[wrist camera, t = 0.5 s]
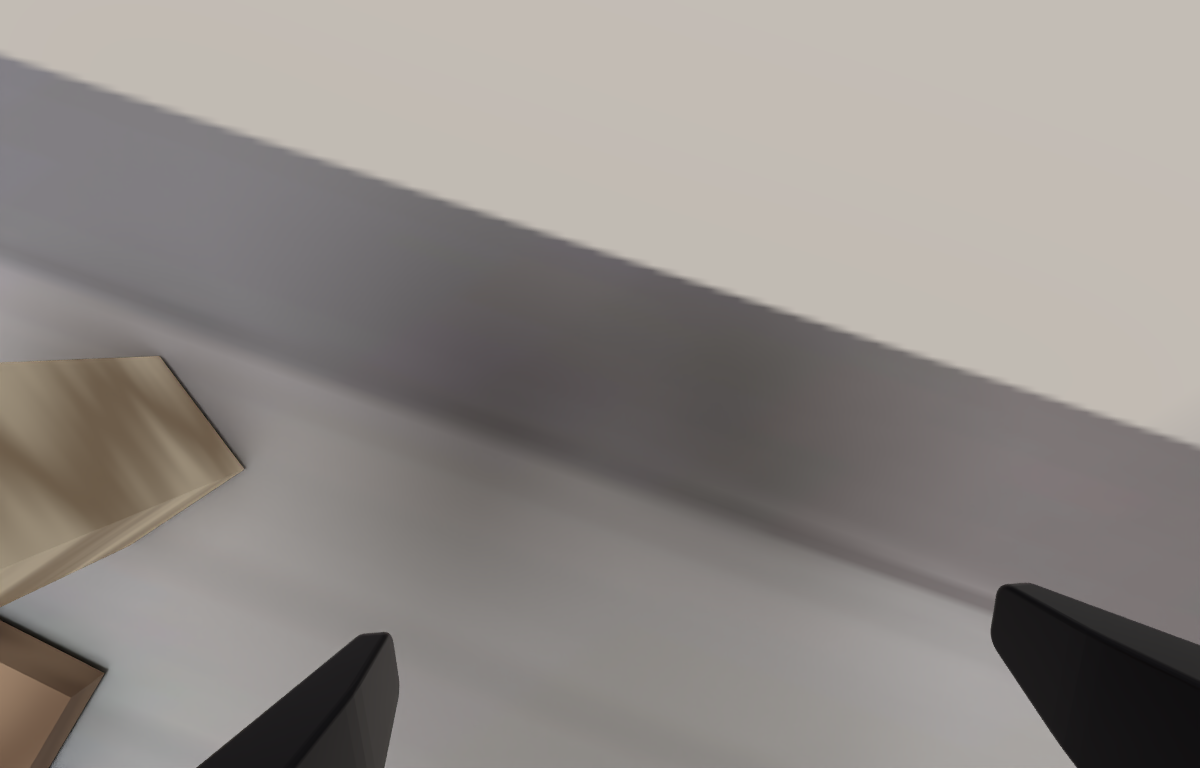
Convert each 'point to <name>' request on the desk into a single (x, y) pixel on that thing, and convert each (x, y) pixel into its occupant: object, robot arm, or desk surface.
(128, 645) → the desk surface
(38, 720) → the board
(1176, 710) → the robot arm
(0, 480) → the birch block
